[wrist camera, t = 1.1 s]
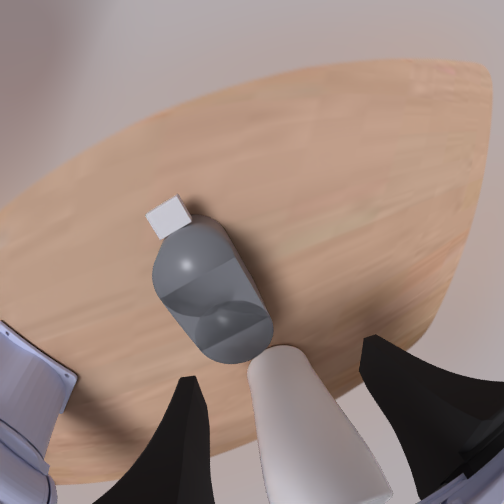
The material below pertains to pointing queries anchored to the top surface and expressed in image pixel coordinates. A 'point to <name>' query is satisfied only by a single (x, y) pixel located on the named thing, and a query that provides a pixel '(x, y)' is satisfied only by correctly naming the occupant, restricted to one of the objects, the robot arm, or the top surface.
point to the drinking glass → (308, 437)
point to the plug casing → (208, 285)
